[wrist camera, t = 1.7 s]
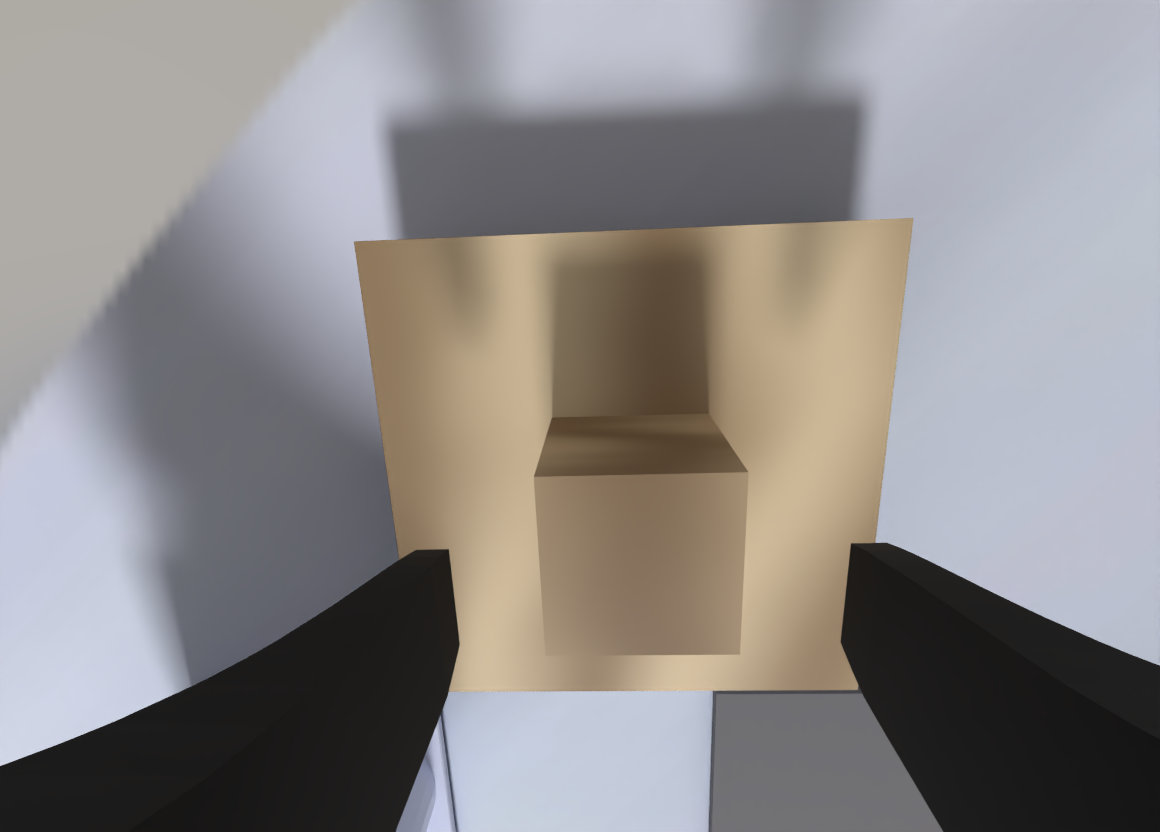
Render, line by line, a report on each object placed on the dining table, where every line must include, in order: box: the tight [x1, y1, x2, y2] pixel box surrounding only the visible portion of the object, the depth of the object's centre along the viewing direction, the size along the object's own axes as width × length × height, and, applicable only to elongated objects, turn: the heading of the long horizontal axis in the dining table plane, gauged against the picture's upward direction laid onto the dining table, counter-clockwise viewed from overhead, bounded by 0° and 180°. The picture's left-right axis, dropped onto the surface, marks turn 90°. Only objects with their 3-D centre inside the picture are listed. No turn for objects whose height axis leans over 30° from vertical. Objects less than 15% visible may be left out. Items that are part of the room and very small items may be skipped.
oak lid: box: [354, 218, 913, 692], centre depth 13 cm, size 13×13×5 cm
